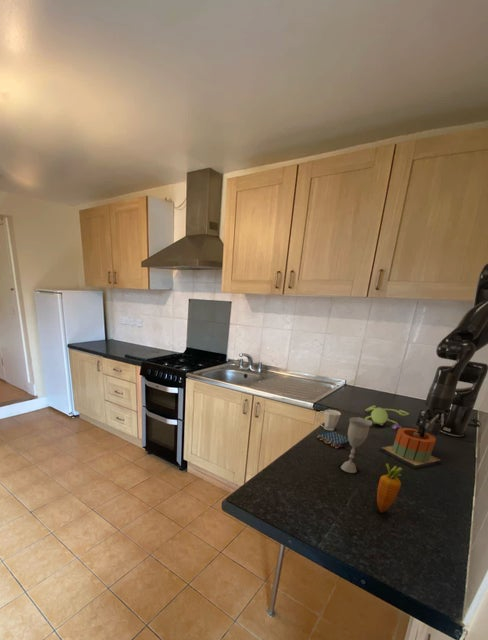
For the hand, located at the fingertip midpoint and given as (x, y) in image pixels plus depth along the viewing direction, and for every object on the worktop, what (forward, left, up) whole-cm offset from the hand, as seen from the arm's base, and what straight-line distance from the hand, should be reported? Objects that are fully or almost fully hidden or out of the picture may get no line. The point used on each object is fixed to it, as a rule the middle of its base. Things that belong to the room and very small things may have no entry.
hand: (427, 435), depth 126 cm
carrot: (+47, +21, -9) cm, 53 cm away
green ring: (+6, 0, -7) cm, 10 cm away
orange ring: (+6, 0, -3) cm, 7 cm away
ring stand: (+6, 0, -9) cm, 11 cm away
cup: (+18, -31, -9) cm, 37 cm away
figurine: (-16, -30, -9) cm, 35 cm away
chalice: (+37, 0, -9) cm, 39 cm away
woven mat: (+26, -19, -9) cm, 33 cm away
